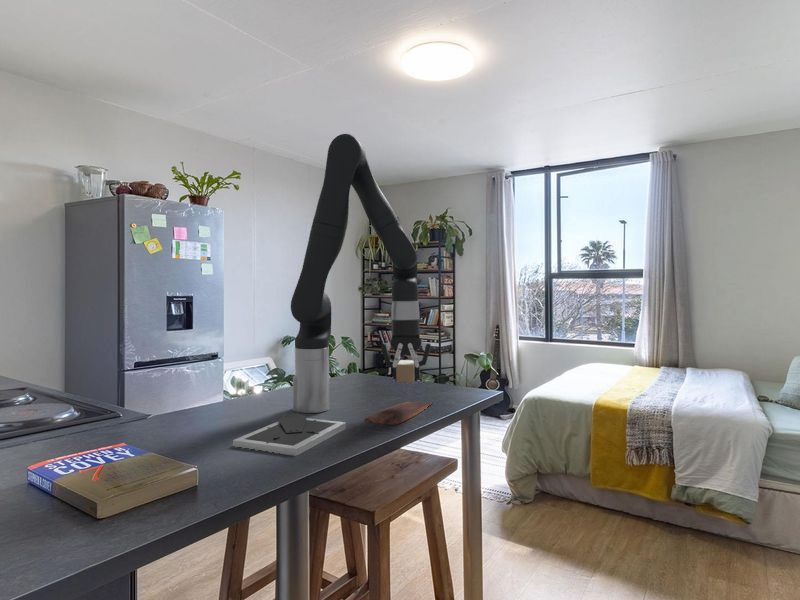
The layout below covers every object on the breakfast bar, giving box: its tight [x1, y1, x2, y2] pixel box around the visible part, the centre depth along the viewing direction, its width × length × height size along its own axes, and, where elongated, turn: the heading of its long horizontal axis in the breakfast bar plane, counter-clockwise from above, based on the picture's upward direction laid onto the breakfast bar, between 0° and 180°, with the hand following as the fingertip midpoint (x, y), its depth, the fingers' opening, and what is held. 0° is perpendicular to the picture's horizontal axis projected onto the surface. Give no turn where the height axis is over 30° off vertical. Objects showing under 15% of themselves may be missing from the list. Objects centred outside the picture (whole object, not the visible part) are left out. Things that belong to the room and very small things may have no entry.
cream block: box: [395, 359, 415, 384], centre depth 133 cm, size 5×5×10 cm
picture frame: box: [232, 413, 347, 457], centre depth 109 cm, size 16×3×21 cm
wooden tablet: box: [364, 401, 433, 426], centre depth 132 cm, size 26×2×10 cm
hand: (406, 380), depth 132 cm, fingers closed on cream block, 4 cm apart
